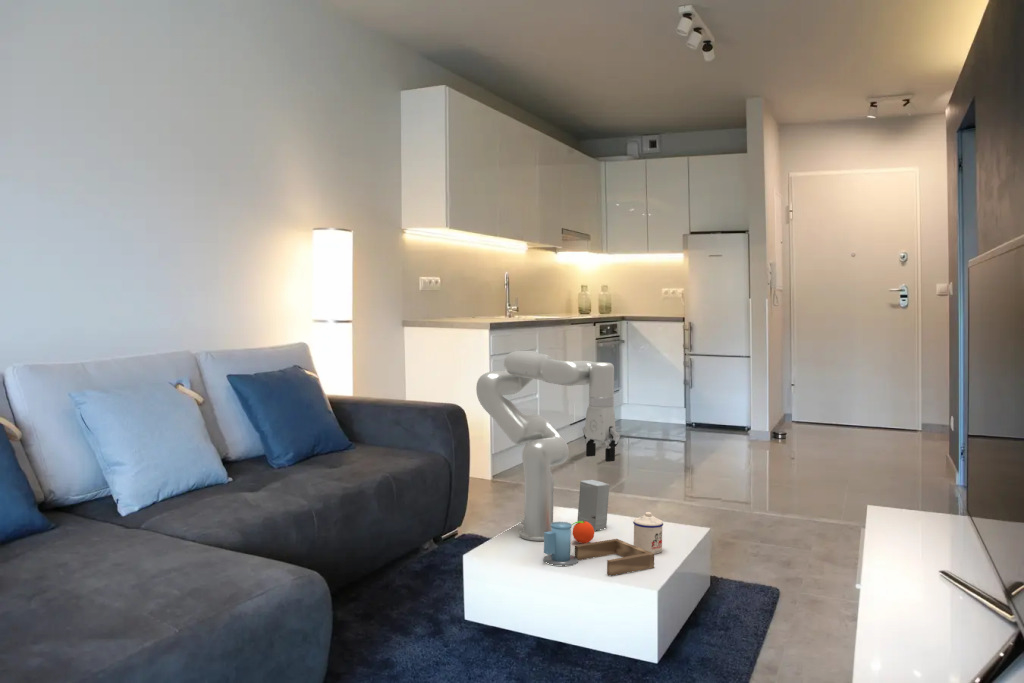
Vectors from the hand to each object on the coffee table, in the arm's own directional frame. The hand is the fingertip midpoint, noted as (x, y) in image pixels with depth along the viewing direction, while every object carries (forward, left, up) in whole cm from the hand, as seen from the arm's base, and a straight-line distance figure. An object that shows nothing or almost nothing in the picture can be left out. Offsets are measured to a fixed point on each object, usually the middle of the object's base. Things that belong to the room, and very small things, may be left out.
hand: (600, 458), depth 229 cm
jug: (+3, -17, -28) cm, 33 cm away
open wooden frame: (+12, -4, -28) cm, 31 cm away
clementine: (-9, 0, -28) cm, 30 cm away
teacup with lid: (+6, +15, -28) cm, 33 cm away
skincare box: (-22, +14, -28) cm, 39 cm away
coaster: (+3, -16, -28) cm, 33 cm away
